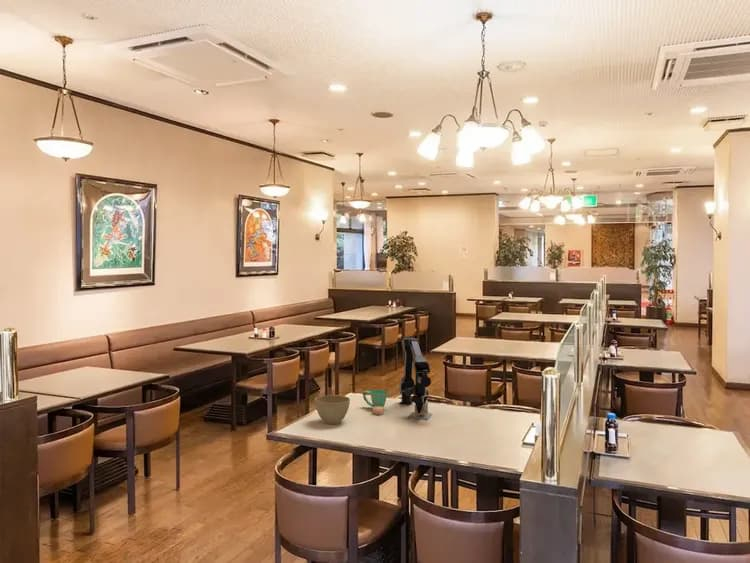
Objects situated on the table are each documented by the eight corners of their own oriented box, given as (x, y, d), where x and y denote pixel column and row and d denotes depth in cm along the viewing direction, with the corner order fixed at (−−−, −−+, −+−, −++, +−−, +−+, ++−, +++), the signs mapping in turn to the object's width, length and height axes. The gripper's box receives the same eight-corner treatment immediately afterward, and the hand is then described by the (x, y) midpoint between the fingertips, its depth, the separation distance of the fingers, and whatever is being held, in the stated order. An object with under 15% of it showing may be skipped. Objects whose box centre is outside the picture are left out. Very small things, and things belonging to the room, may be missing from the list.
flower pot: (348, 427, 286) (348, 403, 286) (312, 426, 286) (312, 403, 286) (350, 417, 304) (351, 395, 304) (317, 417, 304) (317, 394, 304)
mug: (390, 407, 324) (390, 390, 324) (383, 412, 316) (383, 394, 315) (366, 405, 331) (367, 387, 330) (359, 409, 322) (359, 391, 321)
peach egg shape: (373, 412, 316) (373, 406, 315) (384, 412, 315) (384, 406, 314) (371, 415, 310) (371, 408, 309) (382, 415, 309) (382, 408, 309)
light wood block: (420, 410, 319) (420, 400, 319) (427, 410, 319) (427, 400, 319) (420, 412, 315) (420, 402, 315) (427, 412, 315) (427, 402, 315)
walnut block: (416, 412, 310) (416, 403, 310) (425, 412, 309) (425, 403, 309) (414, 414, 306) (414, 405, 305) (423, 415, 304) (423, 406, 304)
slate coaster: (412, 412, 314) (412, 411, 314) (432, 414, 311) (432, 413, 311) (407, 418, 304) (407, 417, 304) (428, 419, 300) (428, 418, 300)
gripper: (409, 378, 318) (409, 406, 319) (401, 385, 300) (401, 415, 301) (429, 380, 315) (429, 408, 315) (422, 387, 297) (422, 416, 297)
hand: (420, 411), depth 307 cm, fingers closed on walnut block, 5 cm apart
